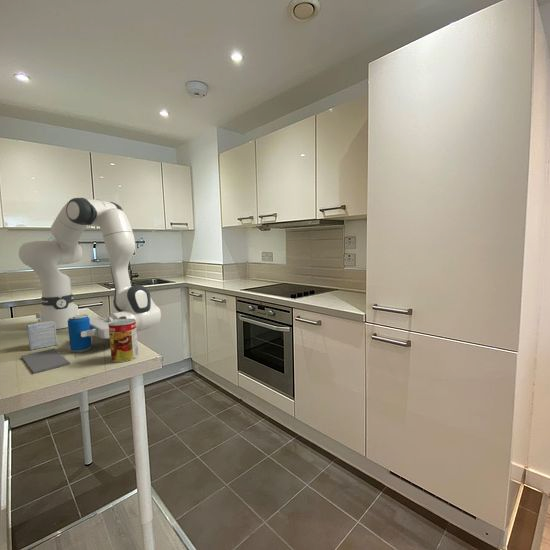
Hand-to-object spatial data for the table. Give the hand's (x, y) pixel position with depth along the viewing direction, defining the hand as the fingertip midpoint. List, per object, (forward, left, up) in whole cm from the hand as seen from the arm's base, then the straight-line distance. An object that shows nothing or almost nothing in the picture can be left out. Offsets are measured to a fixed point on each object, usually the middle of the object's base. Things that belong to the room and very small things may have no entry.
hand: (76, 332), depth 108 cm
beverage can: (0, +1, -7) cm, 7 cm away
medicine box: (-16, -7, -7) cm, 19 cm away
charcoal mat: (+2, -10, -7) cm, 12 cm away
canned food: (+20, +8, -7) cm, 23 cm away
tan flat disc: (0, +1, -7) cm, 7 cm away
